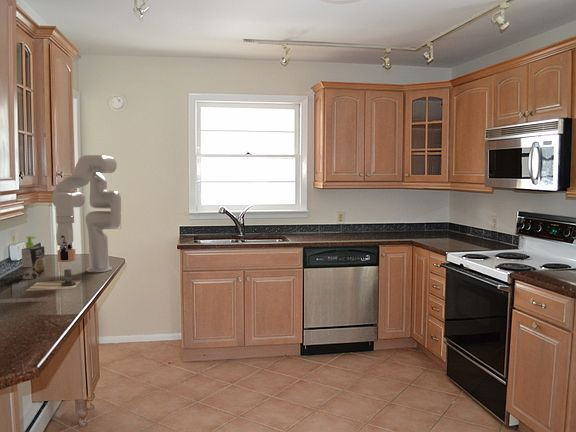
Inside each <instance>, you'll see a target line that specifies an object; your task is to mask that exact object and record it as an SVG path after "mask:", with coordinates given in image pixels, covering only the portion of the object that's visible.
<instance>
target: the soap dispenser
mask: <svg viewBox="0 0 576 432" xmlns="http://www.w3.org/2000/svg"><path fill="white" fill-rule="evenodd" d="M25 237H26V239H27V242H26V243H25V248H28V247H33V246H35V245H34V242H33V241H32V239H36V236H34V235H28V236H27V235H26V236H25Z"/></svg>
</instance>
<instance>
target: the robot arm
mask: <svg viewBox="0 0 576 432" xmlns="http://www.w3.org/2000/svg"><path fill="white" fill-rule="evenodd" d="M117 168H118V163H117V161H116V158H114V157H113V156H108V155H103V154H101V155H100V154H97V155H96V154H95V155H94V154H93V155H92V154H86V155H82V156H80V157H79V159H78V161H77V163H76V165H75V167H74V169H73V171H72V174H71V175H69V176H67V177H66V178H64V179H63V180H61V181H60V182H58V183H57V185H56V186H55V188H54V190H53V193H52V196H51V203H52V205H53V206H54V207H55V223H56V224H57V228H56V245H57V246H58V247H59V248H60V249H59V250H60V257H61V260H68V251H67V249H74V248H73V243H74V227H73V224H75V214H74V213H75V211H74V209H75V208H81V207H83V205H84V204H85V202H86V196H85V195H84V193H83V192H81V191H77V190H76V189H80V188H83V187H85V186H87V185H88V184H89V206H90V207H91V208H93V209H103V210H93V211H90V212H88V213H87V214H86V216H85V224H86V228H87V236H88V238H87V239H88V254H89V255H88V259H89V267H87V268H86V271H87V273H88V272H89V273H105V272H109V271H112V269H113V267H112V266H111V265H110V263H109V262H110V261H109V242H108V241H109V239H108V235H107V233H106V231H104V230H117V229H119V228H120V225H121V221H122V196H121V194H120V192H119V191H117V190H108V189H107V188H108V181H107V179H106V177H105V176H104V175H103V174H113V173H115V172H116V170H117ZM73 190H75V191H73ZM104 209H105V210H104ZM106 209H107V210H106ZM109 209H110V210H109Z"/></svg>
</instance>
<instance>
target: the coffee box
mask: <svg viewBox="0 0 576 432" xmlns="http://www.w3.org/2000/svg"><path fill="white" fill-rule="evenodd" d="M45 253H46V252H45V246H44V245H43V246H39V245H38V246H37V245H36V246H35V245H34V246H33V247H28V248H26V247H25V248H22V249H21V268H22V279H23V280H24V279H25V280H36V279H38V278H39V279H40V278H42V277H46V276H47V275H46V274H47V273H46V258H45Z"/></svg>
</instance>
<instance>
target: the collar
mask: <svg viewBox="0 0 576 432" xmlns="http://www.w3.org/2000/svg"><path fill="white" fill-rule="evenodd" d="M67 251H68V260H61V257H60V249H58V250H57V262H60V263H70V262H75V261H76V260H77V259H76V248H73V249H67Z"/></svg>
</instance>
